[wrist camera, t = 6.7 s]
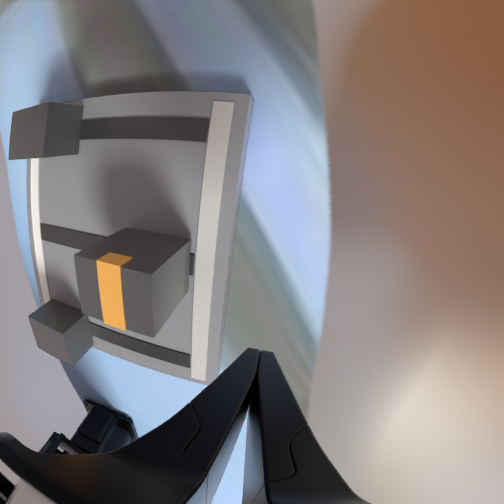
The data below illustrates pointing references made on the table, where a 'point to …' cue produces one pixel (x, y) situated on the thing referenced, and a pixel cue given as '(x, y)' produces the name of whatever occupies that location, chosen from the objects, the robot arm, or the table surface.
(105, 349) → the panel
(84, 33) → the table surface
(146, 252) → the block
